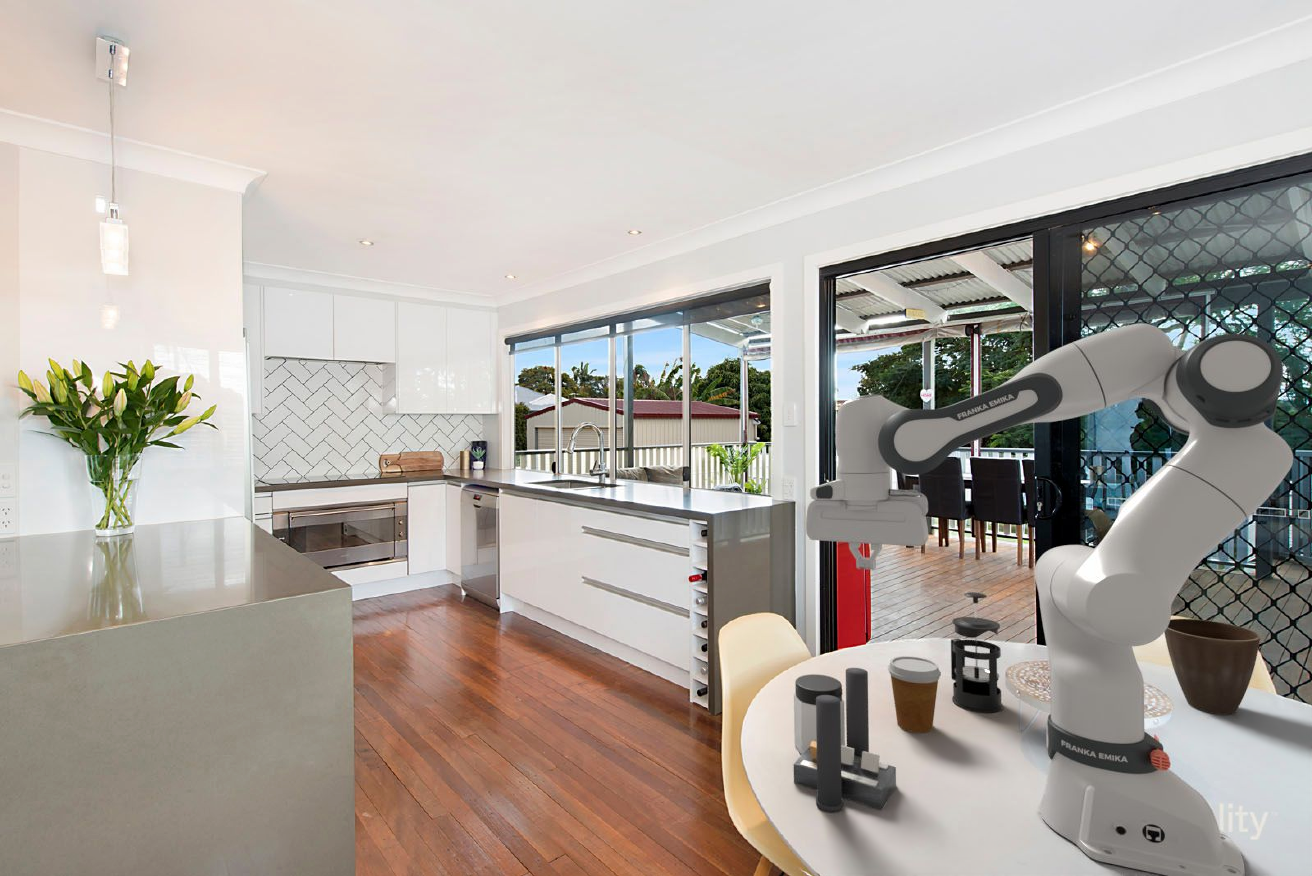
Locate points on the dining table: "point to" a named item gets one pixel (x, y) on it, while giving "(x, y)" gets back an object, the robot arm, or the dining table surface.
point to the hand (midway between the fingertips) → (866, 568)
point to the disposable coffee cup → (914, 692)
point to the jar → (813, 707)
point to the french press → (975, 682)
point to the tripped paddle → (813, 749)
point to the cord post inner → (857, 710)
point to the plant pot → (1212, 662)
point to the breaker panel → (852, 780)
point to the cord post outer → (828, 754)
